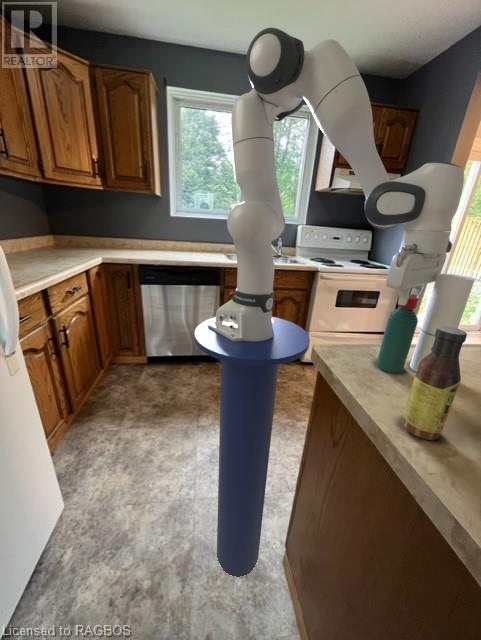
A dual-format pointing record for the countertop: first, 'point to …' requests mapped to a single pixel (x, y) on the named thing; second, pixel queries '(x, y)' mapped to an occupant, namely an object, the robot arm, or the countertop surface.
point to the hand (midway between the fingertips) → (407, 303)
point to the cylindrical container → (442, 311)
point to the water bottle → (397, 340)
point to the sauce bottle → (435, 385)
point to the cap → (410, 303)
